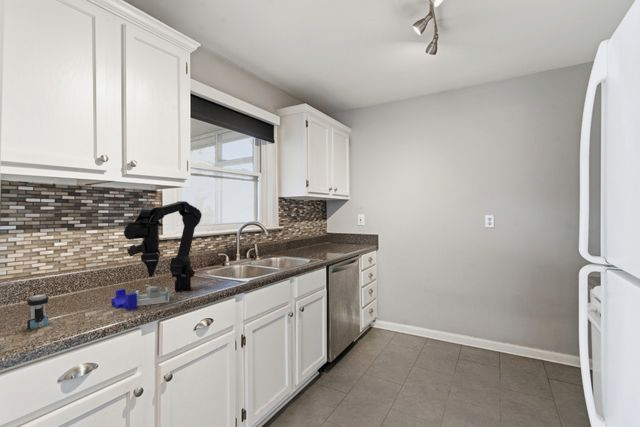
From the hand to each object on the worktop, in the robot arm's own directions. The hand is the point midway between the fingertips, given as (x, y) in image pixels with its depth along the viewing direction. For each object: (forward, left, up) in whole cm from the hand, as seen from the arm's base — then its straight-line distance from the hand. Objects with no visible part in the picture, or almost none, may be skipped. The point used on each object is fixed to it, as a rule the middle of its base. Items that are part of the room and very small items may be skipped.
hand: (151, 274), depth 129 cm
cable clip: (+9, +4, -11) cm, 15 cm away
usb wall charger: (0, 0, -9) cm, 9 cm away
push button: (+31, +15, -11) cm, 37 cm away
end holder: (0, 0, -11) cm, 11 cm away
